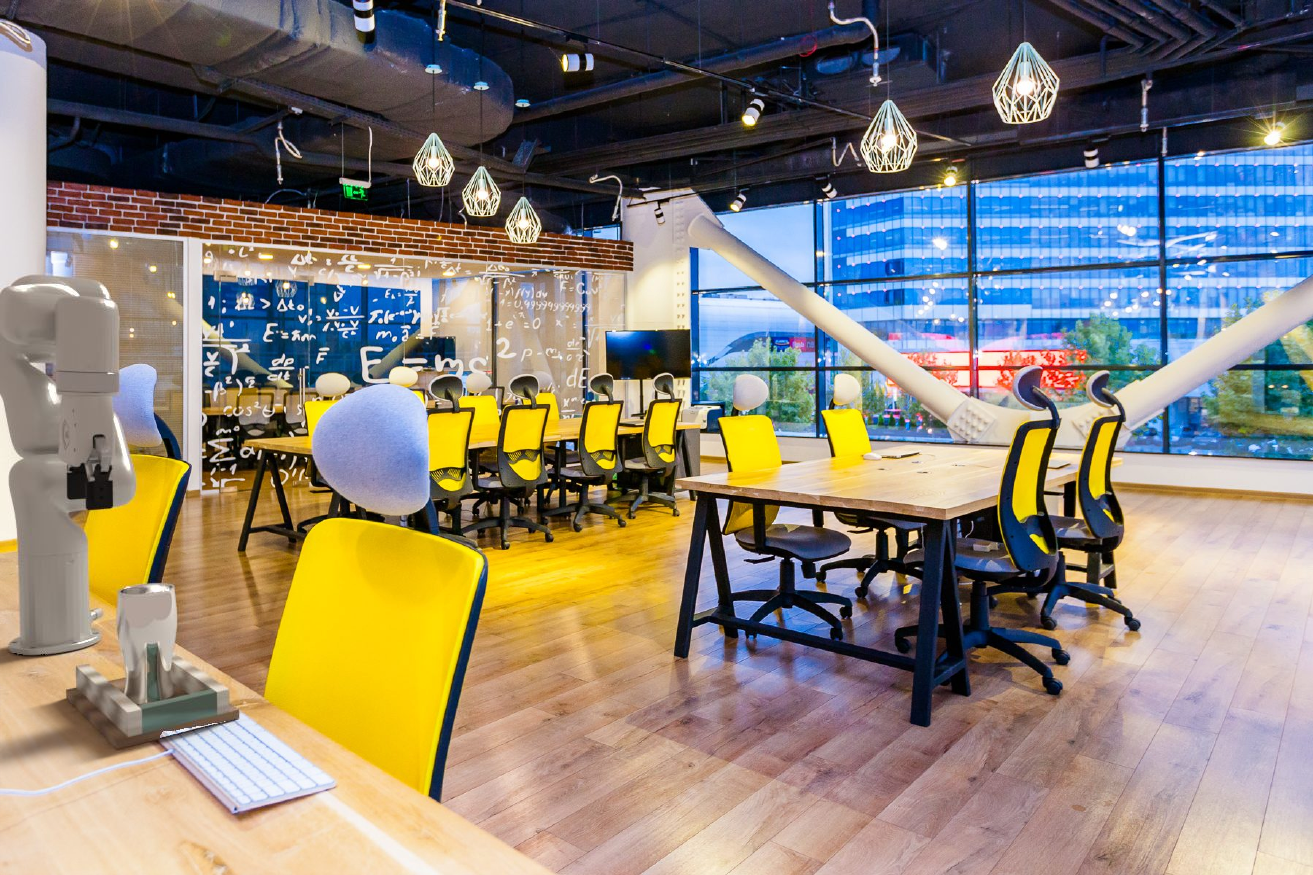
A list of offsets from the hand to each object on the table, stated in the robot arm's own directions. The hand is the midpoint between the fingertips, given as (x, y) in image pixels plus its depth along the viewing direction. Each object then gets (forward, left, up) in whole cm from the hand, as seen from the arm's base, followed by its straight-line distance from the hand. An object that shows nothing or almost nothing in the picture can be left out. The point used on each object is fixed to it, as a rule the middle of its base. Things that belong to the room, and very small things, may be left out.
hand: (89, 503), depth 124 cm
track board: (+10, +13, -26) cm, 31 cm away
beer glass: (+10, +13, -25) cm, 30 cm away
